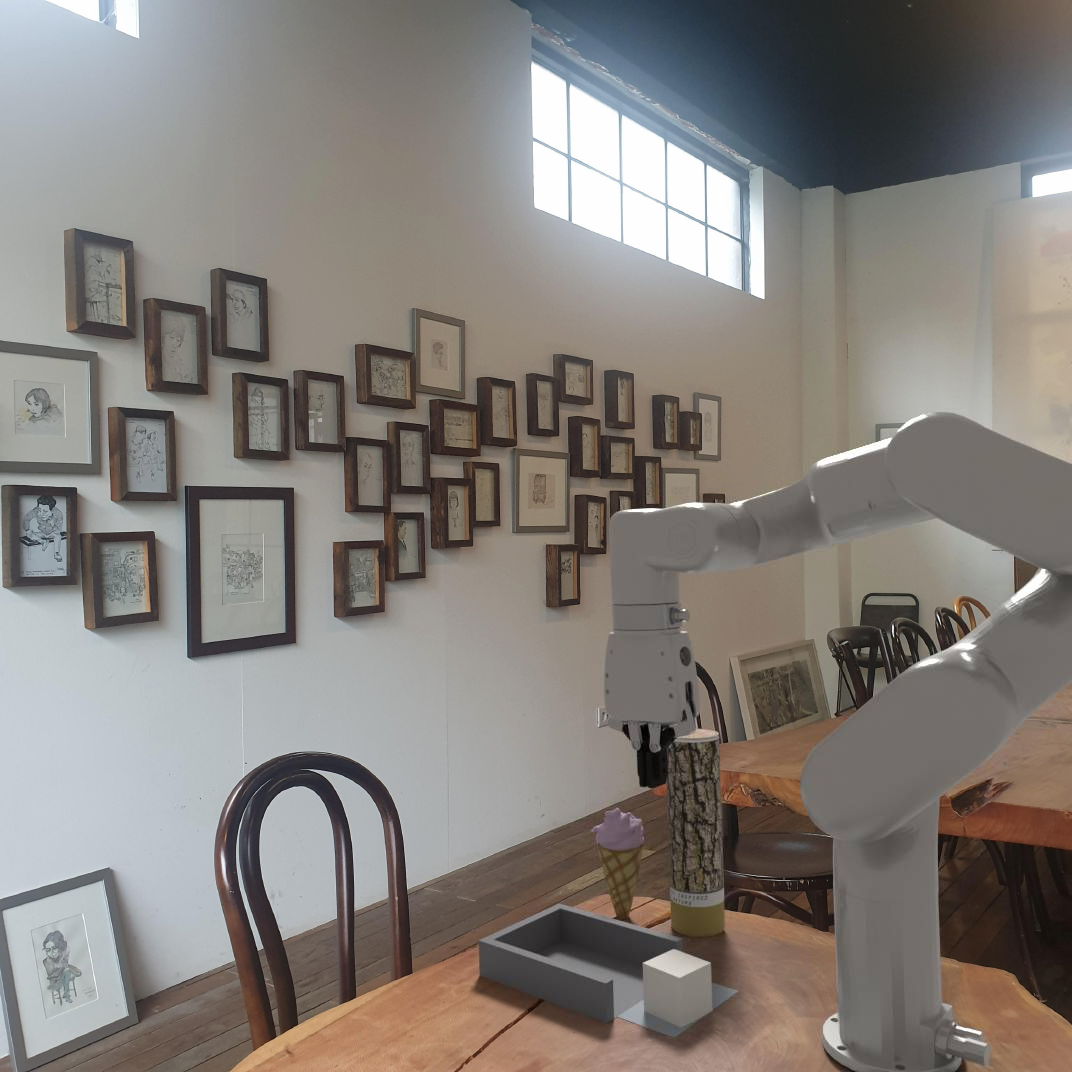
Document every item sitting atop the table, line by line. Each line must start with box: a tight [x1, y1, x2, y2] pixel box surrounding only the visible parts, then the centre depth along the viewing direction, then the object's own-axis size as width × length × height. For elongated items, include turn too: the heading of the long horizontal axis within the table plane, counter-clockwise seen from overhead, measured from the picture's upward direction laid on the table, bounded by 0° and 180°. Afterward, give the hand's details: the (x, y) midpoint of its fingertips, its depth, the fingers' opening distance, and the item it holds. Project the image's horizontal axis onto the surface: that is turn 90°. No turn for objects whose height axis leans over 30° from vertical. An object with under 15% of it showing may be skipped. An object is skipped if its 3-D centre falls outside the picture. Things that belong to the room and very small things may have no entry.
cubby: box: [478, 903, 740, 1039], centre depth 108 cm, size 25×14×4 cm, turn 49°
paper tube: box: [666, 728, 726, 938], centre depth 123 cm, size 7×7×25 cm
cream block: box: [643, 949, 713, 1028], centre depth 101 cm, size 5×5×5 cm
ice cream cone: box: [590, 807, 645, 920], centre depth 128 cm, size 7×6×15 cm
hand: (653, 784), depth 107 cm, fingers closed
